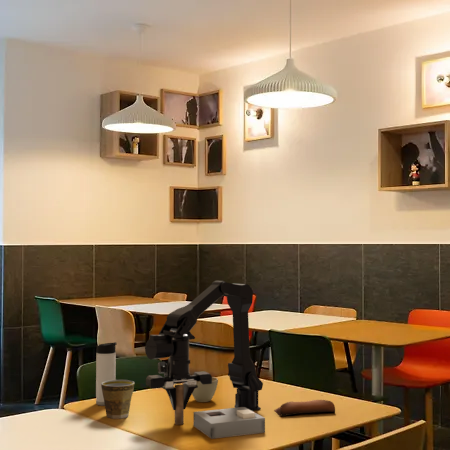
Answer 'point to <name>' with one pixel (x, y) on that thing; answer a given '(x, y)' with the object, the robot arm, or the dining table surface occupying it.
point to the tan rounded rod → (179, 405)
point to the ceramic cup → (117, 397)
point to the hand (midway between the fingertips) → (179, 409)
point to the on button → (245, 414)
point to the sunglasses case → (305, 407)
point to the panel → (227, 423)
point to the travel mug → (104, 368)
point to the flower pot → (205, 391)
